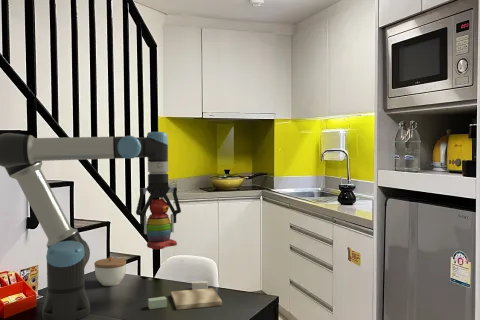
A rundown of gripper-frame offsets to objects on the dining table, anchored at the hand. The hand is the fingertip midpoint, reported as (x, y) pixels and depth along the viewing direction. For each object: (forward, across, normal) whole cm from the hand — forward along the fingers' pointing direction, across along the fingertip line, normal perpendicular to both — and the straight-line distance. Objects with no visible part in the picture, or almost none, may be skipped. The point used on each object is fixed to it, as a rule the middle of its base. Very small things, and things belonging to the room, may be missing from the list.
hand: (158, 232), depth 172 cm
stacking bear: (+5, 0, 0) cm, 5 cm away
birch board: (+24, +12, -10) cm, 28 cm away
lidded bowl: (+24, -18, +22) cm, 37 cm away
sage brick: (+24, -2, -13) cm, 27 cm away
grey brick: (+24, +16, +3) cm, 29 cm away
